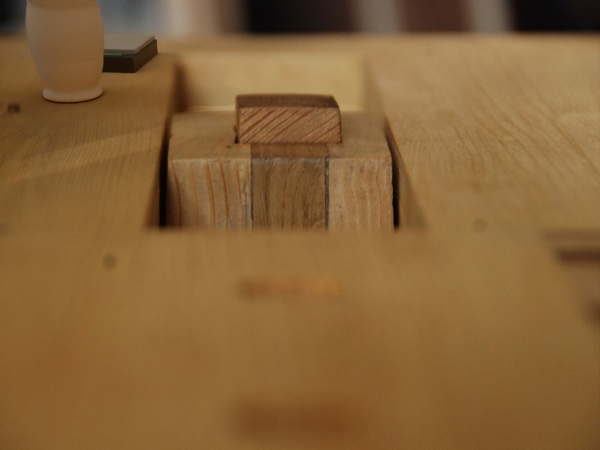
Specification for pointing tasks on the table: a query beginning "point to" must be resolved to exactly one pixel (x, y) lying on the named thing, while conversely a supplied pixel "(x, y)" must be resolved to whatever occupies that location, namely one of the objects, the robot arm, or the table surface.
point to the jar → (66, 47)
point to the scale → (127, 52)
